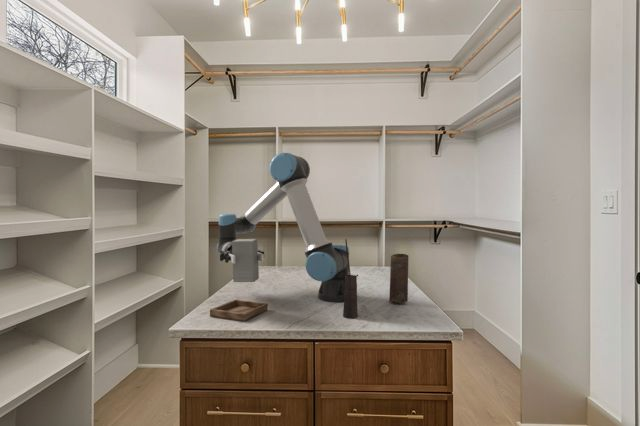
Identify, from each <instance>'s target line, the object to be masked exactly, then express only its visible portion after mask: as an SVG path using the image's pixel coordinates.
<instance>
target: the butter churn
mask: <svg viewBox="0 0 640 426" xmlns="http://www.w3.org/2000/svg"><path fill="white" fill-rule="evenodd" d="M345 246H346V251H347V260H348V268H349V275H346V276H345V288H344V289H345V290H344V301H343V309H342V310H343V313H342V316H343V317H344V318H347V319H355V318H357V317H358V281H357V280H358V279H357V278H358V277H359V274H356V275H355V274H352V273H351V266H350V255H349V256H348V248H349V247H347V246H348V240H347V239H346V238H345Z"/></svg>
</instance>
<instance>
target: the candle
mask: <svg viewBox="0 0 640 426" xmlns="http://www.w3.org/2000/svg"><path fill="white" fill-rule="evenodd" d="M409 258H410V257H409V255H408V254H407V253H395V254H392V255H390V273H389V274H390V275H389V276H390V277H389V295H388V296H389V298H388V299H389V303H393V304H396V305H400V304H403V303H407V302H408V300H409V297H408V295H409Z"/></svg>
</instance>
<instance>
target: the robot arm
mask: <svg viewBox="0 0 640 426" xmlns="http://www.w3.org/2000/svg"><path fill="white" fill-rule="evenodd" d="M310 168H311V167H310V165H309V162H308V160H306V158H304V157H301V156H298V155H295V154H293V153H291V152H281V153H280V152H279V153H278V154H276V155H275V156H274V157H272V159H271V161H270V163H269V174H270V176H271V177H272V179H274V180H275V181H276V182H275V183H274V185H272V187H270V189H268V190H267V191H266V192H265V193H264V194H263V195H262V196H261V197H260V198H259V199H258V200H257V201H256V202H255V203H253V205H252V206H251V207H249V209H248V210H246V212H245V213H244V214H243V215H241V216H240V217H237V215H236V214H233V213H222V214H220V215H219V217H218V243H217V245H216V251H217V253H218V254H219V261H220V262H224V263H227V264H228V263H229V262H230V263H231V264H232V265H233V264H235V256H234V255H232V241H235V240H237V235H239V234H240V235H241V234H249V233H252V232H253V231H254V230H255V229H256V226H257V224H258V223H259V222H260V221H261V220H262V219H264V218H265V217H266V216H267V215H268V214H269V213H270V212H271V211H272V210H273V209H274V208H275V207H276V206H277V205H278V204H279V203H281V202H282V201H283V200H284V199H285V198H287V200H288V202H289V204H290V207H291V209H292V212H293V215H294V217H295V220H296V223H297V225H298V228H299V231H300V233H301V236H302V238H303V242H304V244H305V248H304V249H305V250H304V255H305V258H306V260H305V271H306V273H307V275H308V276H309V277H310V278H311V279H312V280H314V281H318V282H321V283H320V285H319V290H318V293H317V296H318V299H319V300H321V301H325V302H333V303H336V302H338V303H340V302H344V290H345V289H344V288H345V276H346V275H349V268H348V260H347V251H346V244H345V245H341V244H333V243H332V241H330V240H329V239H327V238H326V235H325V232H324V230H323V228H322V227H323V226H322V224H321V222H320V220H319V217H318V215H317V212H316V209H315V206H314V203H313V201H312V199H311V196H310V194H309V189H308V188H307V182H308V178H309V177H310V173H311V171H310V170H311V169H310ZM347 247H348V245H347ZM349 249H350V248H349V247H348V256H349V257H350V250H349ZM259 261H260V262H264V261H265V251H262V250H261V249H258V262H259Z"/></svg>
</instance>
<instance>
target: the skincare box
mask: <svg viewBox="0 0 640 426" xmlns="http://www.w3.org/2000/svg"><path fill="white" fill-rule="evenodd" d="M258 247H259V246H258V239H257V238H247V239H245V238H244V239H243V238H241V239H240V238H238V239H237V238H236V240H235V241H232V255H234V256H235V264H233V263H232V276H233V277H232V279H233V280H232V282H233V283H255V282H256V281H258V280H259V279H260V273H259V272H260V271H259V260H258V250H259V248H258Z"/></svg>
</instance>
